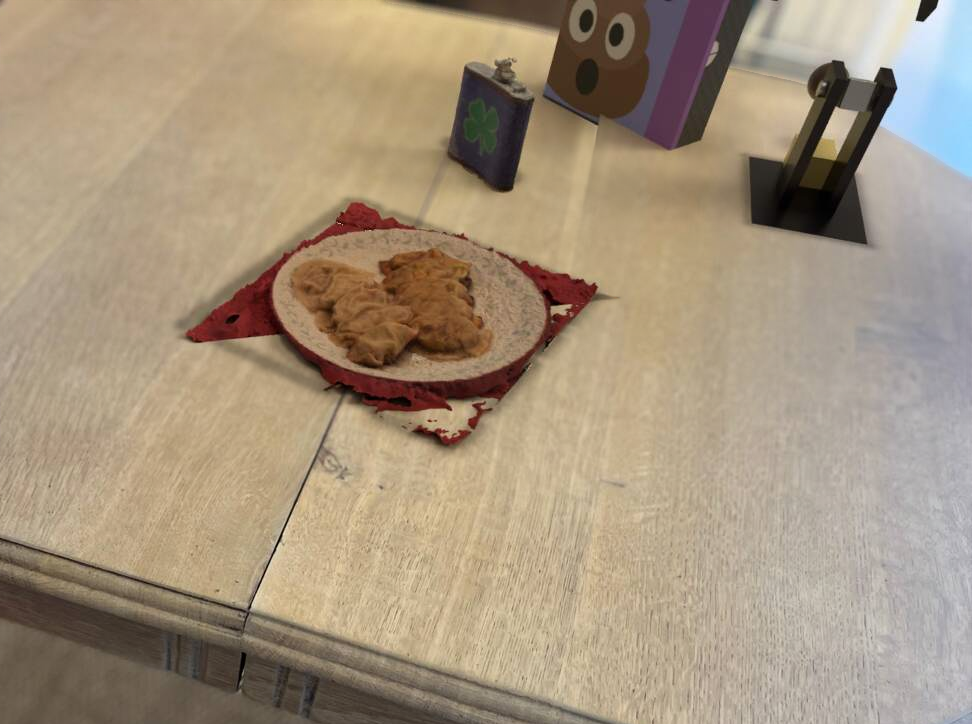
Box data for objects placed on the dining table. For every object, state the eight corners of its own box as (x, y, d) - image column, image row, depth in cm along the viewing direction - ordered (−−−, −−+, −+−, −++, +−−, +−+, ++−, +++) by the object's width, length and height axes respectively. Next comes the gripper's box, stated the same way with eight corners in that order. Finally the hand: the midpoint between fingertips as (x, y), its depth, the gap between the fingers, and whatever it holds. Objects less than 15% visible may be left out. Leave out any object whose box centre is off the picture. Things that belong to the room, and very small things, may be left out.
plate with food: (593, 305, 89) (606, 269, 86) (453, 458, 74) (463, 418, 71) (352, 216, 98) (357, 181, 95) (184, 336, 83) (184, 297, 80)
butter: (782, 162, 105) (795, 133, 103) (820, 169, 104) (834, 140, 102) (784, 183, 102) (798, 153, 100) (823, 190, 101) (838, 160, 99)
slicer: (744, 167, 106) (800, 35, 97) (849, 186, 105) (916, 52, 95) (746, 234, 97) (808, 95, 88) (861, 256, 95) (936, 116, 86)
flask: (441, 153, 106) (463, 42, 98) (464, 148, 107) (488, 38, 99) (498, 195, 101) (526, 81, 93) (522, 189, 102) (552, 76, 94)
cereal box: (542, 96, 116) (609, -161, 99) (572, 87, 118) (643, -167, 101) (666, 161, 107) (764, -110, 89) (696, 150, 109) (799, -118, 91)
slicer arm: (798, 97, 106) (813, 58, 104) (836, 103, 105) (851, 64, 103) (827, 114, 93) (845, 69, 91) (870, 121, 92) (889, 76, 90)
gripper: (1030, -174, 103) (969, 42, 104) (764, -203, 108) (708, 4, 109) (1077, -230, 96) (1010, 3, 97) (788, -258, 100) (728, -36, 101)
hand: (850, 4), depth 103 cm, fingers open, 13 cm apart
